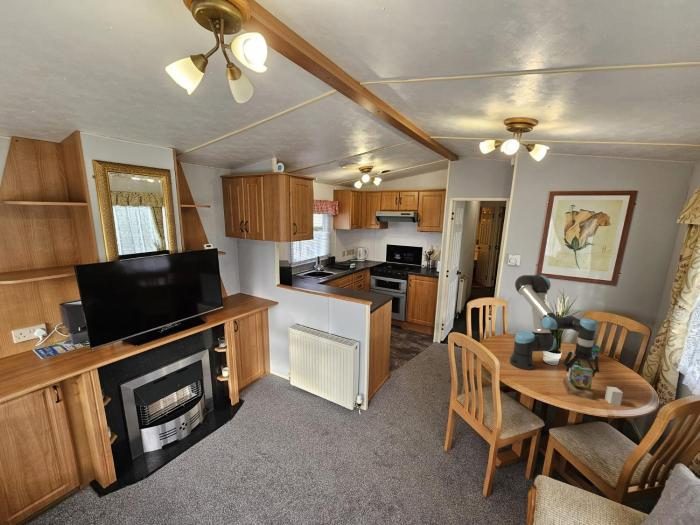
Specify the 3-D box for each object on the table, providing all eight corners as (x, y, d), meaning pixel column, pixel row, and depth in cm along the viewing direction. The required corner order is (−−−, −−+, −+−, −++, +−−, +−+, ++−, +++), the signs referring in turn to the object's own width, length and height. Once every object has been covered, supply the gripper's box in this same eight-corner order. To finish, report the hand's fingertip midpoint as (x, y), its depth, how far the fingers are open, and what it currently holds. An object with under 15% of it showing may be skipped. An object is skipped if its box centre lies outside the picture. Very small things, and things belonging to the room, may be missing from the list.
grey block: (610, 404, 165) (612, 391, 163) (604, 398, 170) (606, 386, 168) (620, 405, 164) (622, 392, 162) (614, 399, 169) (616, 387, 167)
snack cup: (591, 363, 210) (593, 350, 208) (575, 357, 219) (577, 344, 218) (603, 359, 216) (605, 347, 214) (587, 353, 225) (589, 341, 224)
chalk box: (591, 388, 170) (595, 365, 167) (572, 386, 172) (576, 363, 170) (583, 380, 179) (587, 358, 176) (566, 377, 181) (569, 355, 178)
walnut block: (566, 394, 174) (567, 388, 173) (562, 384, 184) (563, 378, 184) (592, 400, 169) (593, 394, 168) (586, 389, 179) (587, 383, 178)
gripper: (563, 343, 173) (557, 377, 177) (611, 351, 163) (604, 387, 167) (560, 338, 179) (555, 371, 183) (606, 346, 170) (600, 380, 174)
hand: (578, 379), depth 175 cm, fingers closed on chalk box, 10 cm apart
